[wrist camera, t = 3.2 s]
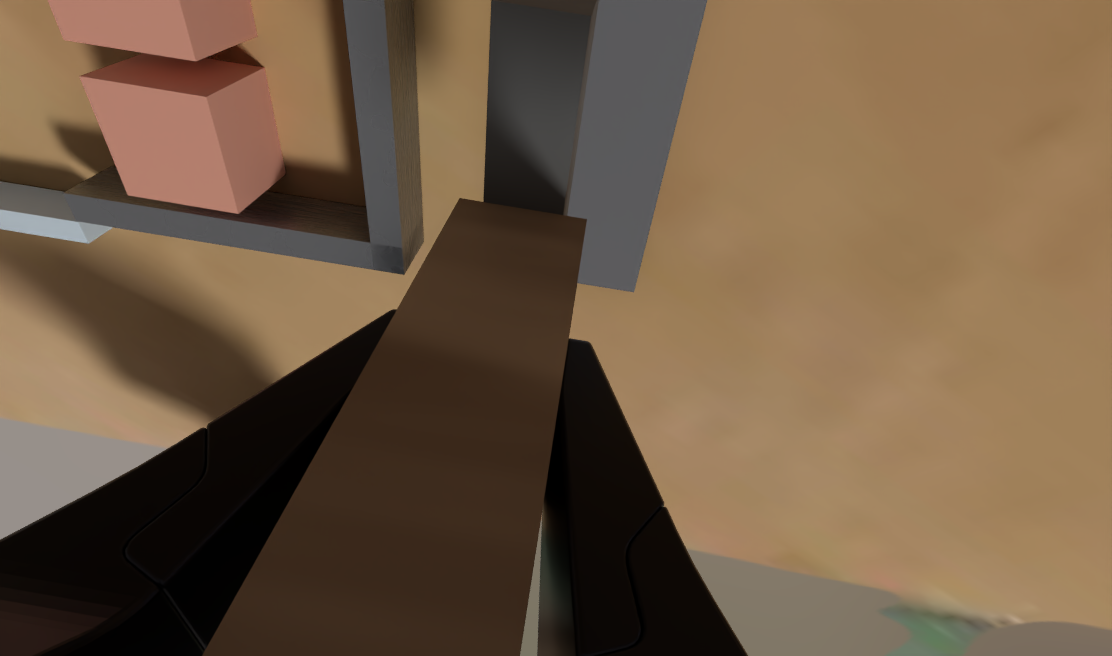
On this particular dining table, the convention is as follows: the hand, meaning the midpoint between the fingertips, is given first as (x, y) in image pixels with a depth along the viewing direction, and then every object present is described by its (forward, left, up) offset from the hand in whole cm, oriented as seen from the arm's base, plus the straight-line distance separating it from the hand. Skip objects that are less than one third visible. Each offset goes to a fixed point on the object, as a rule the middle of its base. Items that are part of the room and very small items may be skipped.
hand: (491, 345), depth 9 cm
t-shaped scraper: (0, 0, -5) cm, 5 cm away
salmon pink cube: (-2, +13, -13) cm, 18 cm away
